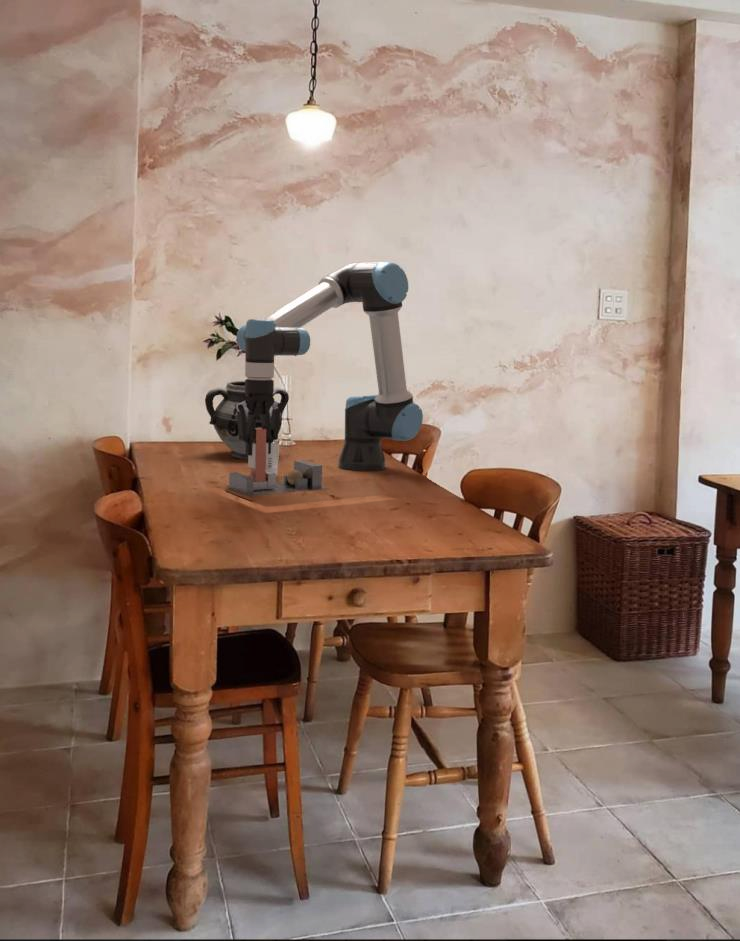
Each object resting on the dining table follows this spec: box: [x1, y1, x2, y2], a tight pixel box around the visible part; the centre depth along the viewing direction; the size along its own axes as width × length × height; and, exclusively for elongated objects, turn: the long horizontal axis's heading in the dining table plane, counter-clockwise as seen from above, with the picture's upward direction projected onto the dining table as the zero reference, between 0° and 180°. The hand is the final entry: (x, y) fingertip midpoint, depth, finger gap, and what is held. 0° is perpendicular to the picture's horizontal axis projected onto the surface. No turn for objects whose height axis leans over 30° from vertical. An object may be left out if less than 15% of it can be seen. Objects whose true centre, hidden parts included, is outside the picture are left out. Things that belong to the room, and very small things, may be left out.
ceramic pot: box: [204, 380, 290, 460], centre depth 308 cm, size 29×23×25 cm
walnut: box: [286, 469, 303, 486], centre depth 254 cm, size 4×4×4 cm
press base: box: [225, 459, 328, 502], centre depth 251 cm, size 24×14×8 cm, turn 125°
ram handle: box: [249, 428, 277, 490], centre depth 247 cm, size 7×4×16 cm, turn 125°
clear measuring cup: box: [266, 438, 281, 477], centre depth 268 cm, size 10×8×12 cm
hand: (258, 466), depth 247 cm, fingers closed on ram handle, 3 cm apart
